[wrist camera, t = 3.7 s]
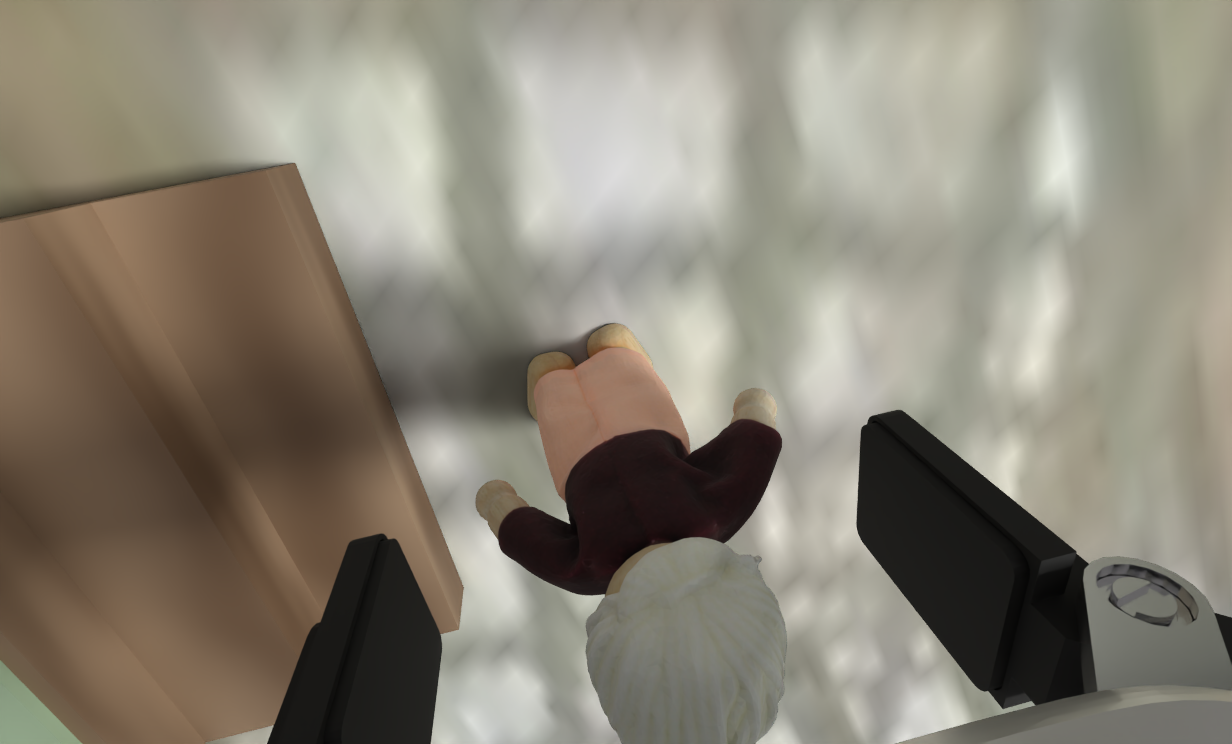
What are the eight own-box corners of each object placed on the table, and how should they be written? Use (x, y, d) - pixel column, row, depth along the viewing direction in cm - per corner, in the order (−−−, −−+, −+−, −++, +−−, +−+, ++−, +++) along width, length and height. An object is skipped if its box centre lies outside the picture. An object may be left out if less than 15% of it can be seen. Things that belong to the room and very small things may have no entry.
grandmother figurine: (538, 464, 20) (563, 910, 9) (473, 386, 19) (404, 814, 7) (723, 353, 20) (1001, 688, 8) (672, 262, 18) (934, 525, 7)
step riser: (295, 163, 15) (164, 196, 10) (463, 587, 22) (445, 750, 17) (-353, 284, 14) (-932, 402, 8) (40, 690, 21) (-134, 901, 16)
